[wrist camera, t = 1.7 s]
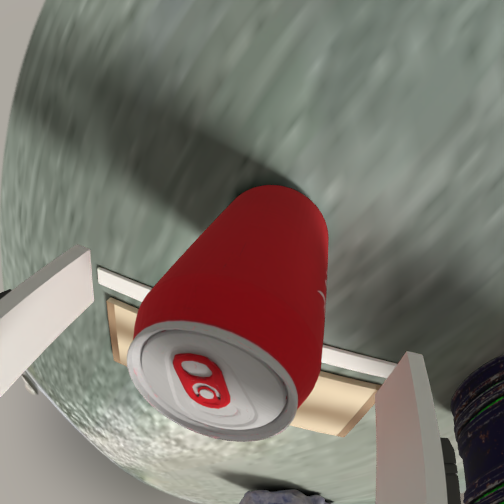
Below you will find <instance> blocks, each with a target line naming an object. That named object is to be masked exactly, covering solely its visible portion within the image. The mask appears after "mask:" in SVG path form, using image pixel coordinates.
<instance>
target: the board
mask: <svg viewBox="0 0 504 504" xmlns="http://www.w3.org/2000/svg"><path fill="white" fill-rule="evenodd" d="M107 310H108V320H109V328H110V336H111V343H112V350H113V357H114V361H116V362H118V363H120V364H123V365H125V366H127V353H128V349H129V346H130V344H131V343H132V341H133V336H134V326H135V321H136V317H137V313H138V310H139V309H137V308H135V307H132V306H130V305H128V304H125V303H123V302H121V301H119V300H116V299H114V298H112V297H110V298H109V299H108V300H107ZM381 386H382V385H377V384H373V383H368V382H364V381H359V380H355V379H351V378H347V377H343V376H339V375H335V374H331V373H327V372H323V371H320V374H319V377H318V380H317V382H316V384H315V387H314V389H313V390H312V392H311V393H310V395H309V396H308V397H307V399H306V400H305V401H304V402H303V403H302V405H301V406H300V407H299V408H298V409H297V411H296V415H295V417H294V419H293V421H292V422H291V424H290V425H291V426H295V427H299V428H303V429H307V430H312V431H316V432H321V433H326V434H330V435H335V436H340V437H345V436H346V435H347V434H348V433H349V431H350V430H351V429H352V428H353V427H354V426H355V425H356V424H357V423H358V422H359V421H360V420H361V418H362V417H363V416H364V415H365V414H366V413H367V412H368V411H369V409H370V408H371V407H372V406H373V405H374V404H375V394H376V392H377V391H378V390H379V389H380V387H381Z"/></svg>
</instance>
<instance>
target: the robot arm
mask: <svg viewBox="0 0 504 504" xmlns="http://www.w3.org/2000/svg"><path fill="white" fill-rule="evenodd" d="M93 302H94V294H93V284H92V271H91V255H90V249H89V248H86V247H84V246H81V245H79V244H76V245H75V246H73V247H72V248H70V249H69V250H67V251H66V252H64V253H63V254H62V255H60V256H59V257H57V258H56V259H54V260H53V261H51V262H50V263H49V264H47V265H46V266H44V267H43V268H42V269H40V270H39V271H37V272H36V273H35V274H33V275H32V276H31V277H29V278H28V279H26V280H25V281H24V282H22V283H21V284H20V285H18V286H17V287H16V288H15V289H13V290H11V289H9V290H7V291H4V292H2V293H0V397H1V396H2V395H3V394H4V393H5V392H6V391H7V390H8V389H9V387H10V386H11V385H12V384H13V383H14V382H15V381H16V380H17V379H18V377H19V376H20V375H21V374H22V373H23V372H24V371H25V370H26V369H27V368H28V367H29V366H30V365H31V364H32V363H33V362H34V360H35V359H36V358H37V357H38V356H39V355H40V354H41V353H42V352H43V351H44V350H45V349H46V348H47V347H48V346H49V345H50V344H51V343H52V342H53V341H54V340H55V339H56V338H57V337H58V336H59V335H60V334H61V333H62V332H63V331H64V330H65V329H66V328H67V327H68V326H69V325H70V324H71V323H72V322H73V321H74V320H75V319H76V318H77V317H78V316H79V315H80V314H81V313H82V312H83V311H84V310H85V309H86V308H87V307H88V306H89V305H91V304H92V303H93ZM375 410H376V443H377V471H376V502H375V504H461V501H460V489H459V480H458V476H457V473H458V472H457V465H455V464H456V458H455V452H454V449H453V447H452V445H451V443H450V441H449V439H448V438H440V434H439V428H438V422H437V416H436V411H435V406H434V401H433V397H432V392H431V387H430V383H429V379H428V374H427V370H426V366H425V362H424V358H423V355H421V354H417V353H413V352H409V351H406V353H405V354H404V356H403V357H402V359H401V360H400V361H399V363H398V364H397V366H396V367H395V368H394V370H393V371H392V373H391V374H390V375H389V377H388V378H387V379H386V381H385V382H384V383H383V385H382V386H381V387H380V389H379V390H378V391H377V392H376V394H375Z"/></svg>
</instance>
